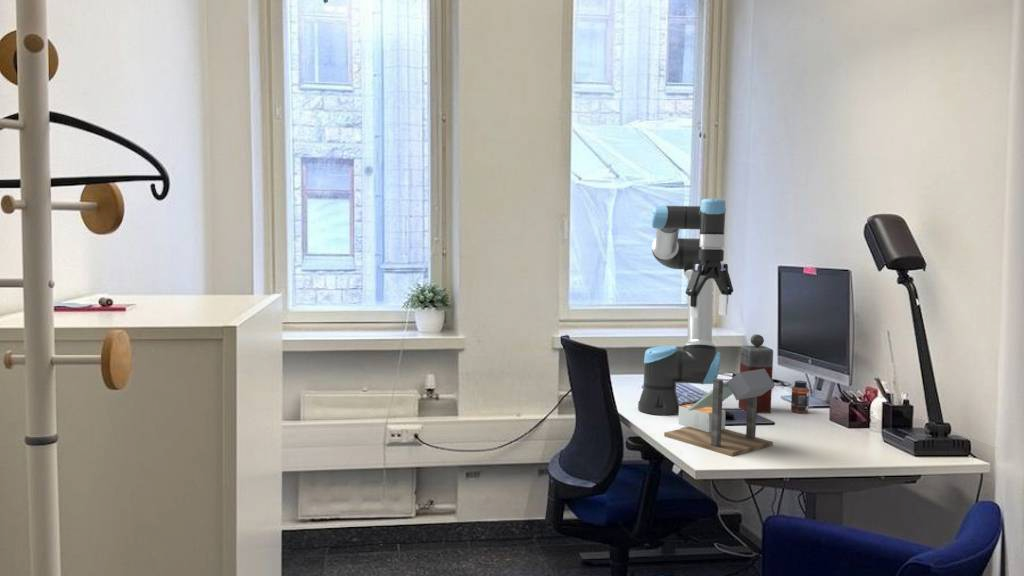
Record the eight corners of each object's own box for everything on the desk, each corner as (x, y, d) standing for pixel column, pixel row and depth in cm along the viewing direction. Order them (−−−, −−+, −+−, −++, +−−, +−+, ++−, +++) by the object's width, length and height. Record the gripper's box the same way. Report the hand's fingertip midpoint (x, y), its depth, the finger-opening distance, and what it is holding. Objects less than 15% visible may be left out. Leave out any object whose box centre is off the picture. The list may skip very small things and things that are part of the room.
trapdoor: (726, 421, 244) (716, 402, 247) (777, 385, 229) (765, 366, 232) (698, 427, 236) (687, 408, 239) (748, 390, 221) (736, 370, 224)
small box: (709, 413, 243) (678, 405, 253) (709, 433, 243) (677, 424, 254) (726, 410, 248) (694, 402, 258) (725, 429, 248) (694, 421, 258)
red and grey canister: (759, 405, 288) (762, 332, 286) (771, 413, 277) (774, 336, 275) (736, 405, 287) (738, 332, 285) (746, 413, 276) (749, 336, 274)
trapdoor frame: (705, 427, 255) (707, 364, 253) (772, 445, 234) (775, 377, 233) (664, 436, 243) (666, 370, 241) (731, 456, 222) (734, 384, 221)
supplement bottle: (811, 413, 277) (813, 382, 276) (798, 414, 275) (799, 383, 275) (800, 409, 283) (802, 379, 282) (787, 410, 281) (788, 380, 280)
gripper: (726, 248, 249) (724, 312, 250) (675, 248, 234) (673, 317, 235) (746, 248, 243) (743, 315, 244) (694, 248, 228) (692, 319, 229)
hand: (709, 316), depth 240 cm, fingers open, 13 cm apart
